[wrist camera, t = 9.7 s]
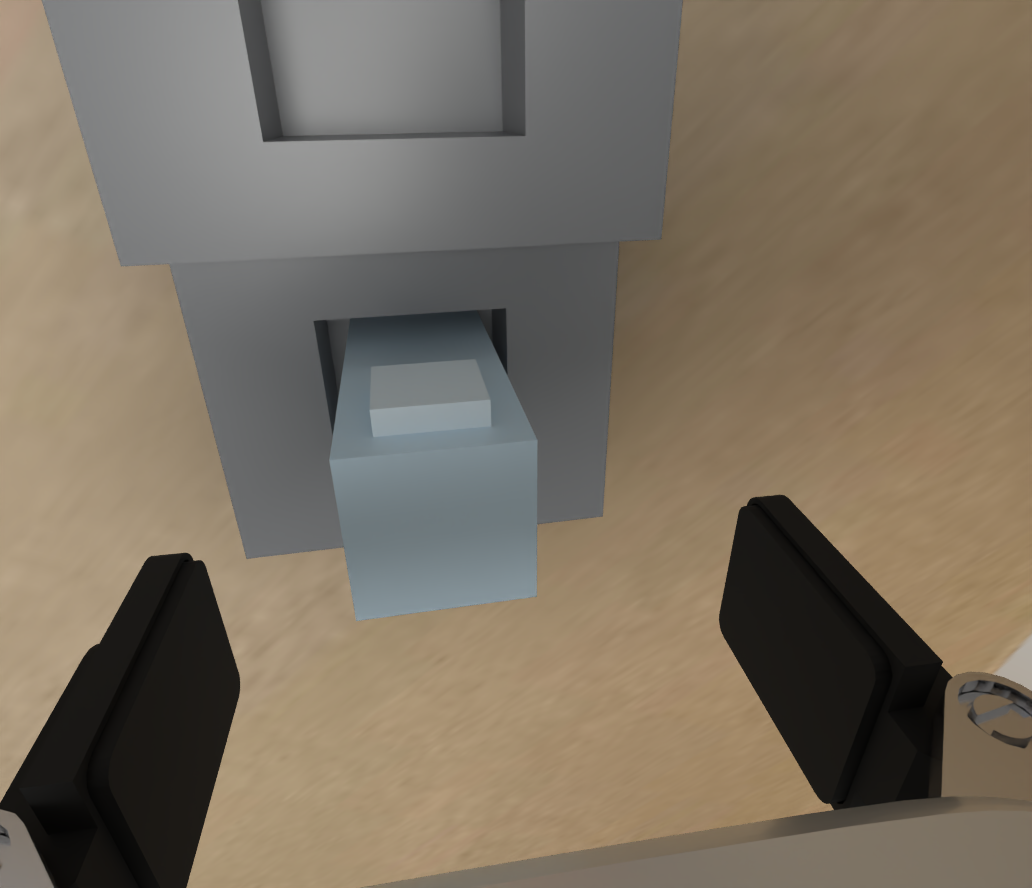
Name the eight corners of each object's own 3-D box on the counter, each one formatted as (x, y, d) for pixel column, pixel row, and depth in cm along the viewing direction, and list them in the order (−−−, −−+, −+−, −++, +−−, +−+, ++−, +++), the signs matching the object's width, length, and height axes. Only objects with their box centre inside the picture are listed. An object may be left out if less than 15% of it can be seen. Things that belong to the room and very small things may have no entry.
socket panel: (601, -213, 16) (717, -381, 11) (576, 467, 26) (631, 570, 20) (89, -245, 14) (-99, -471, 9) (263, 501, 24) (227, 623, 18)
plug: (473, 286, 21) (537, 412, 12) (478, 413, 23) (536, 596, 15) (348, 293, 20) (323, 431, 12) (365, 423, 23) (356, 620, 14)
